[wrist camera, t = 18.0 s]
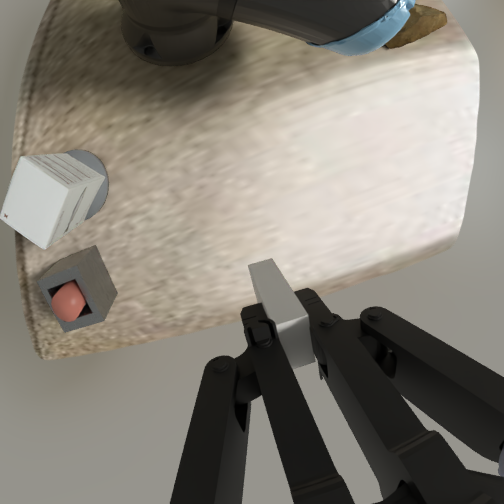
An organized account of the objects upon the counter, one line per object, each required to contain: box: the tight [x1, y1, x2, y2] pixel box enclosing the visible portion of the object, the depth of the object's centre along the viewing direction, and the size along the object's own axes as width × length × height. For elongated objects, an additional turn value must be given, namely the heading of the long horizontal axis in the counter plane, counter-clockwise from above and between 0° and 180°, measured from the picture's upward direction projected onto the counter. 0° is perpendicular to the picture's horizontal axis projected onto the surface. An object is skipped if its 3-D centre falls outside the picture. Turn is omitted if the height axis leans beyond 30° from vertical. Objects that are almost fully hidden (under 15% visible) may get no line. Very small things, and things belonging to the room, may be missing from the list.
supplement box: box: [0, 153, 105, 250], centre depth 29 cm, size 7×7×13 cm
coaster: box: [63, 150, 109, 220], centre depth 35 cm, size 10×10×1 cm
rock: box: [385, 4, 447, 49], centre depth 31 cm, size 11×9×10 cm
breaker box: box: [37, 245, 118, 332], centre depth 36 cm, size 8×7×8 cm
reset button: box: [51, 279, 87, 322], centre depth 34 cm, size 4×4×7 cm
